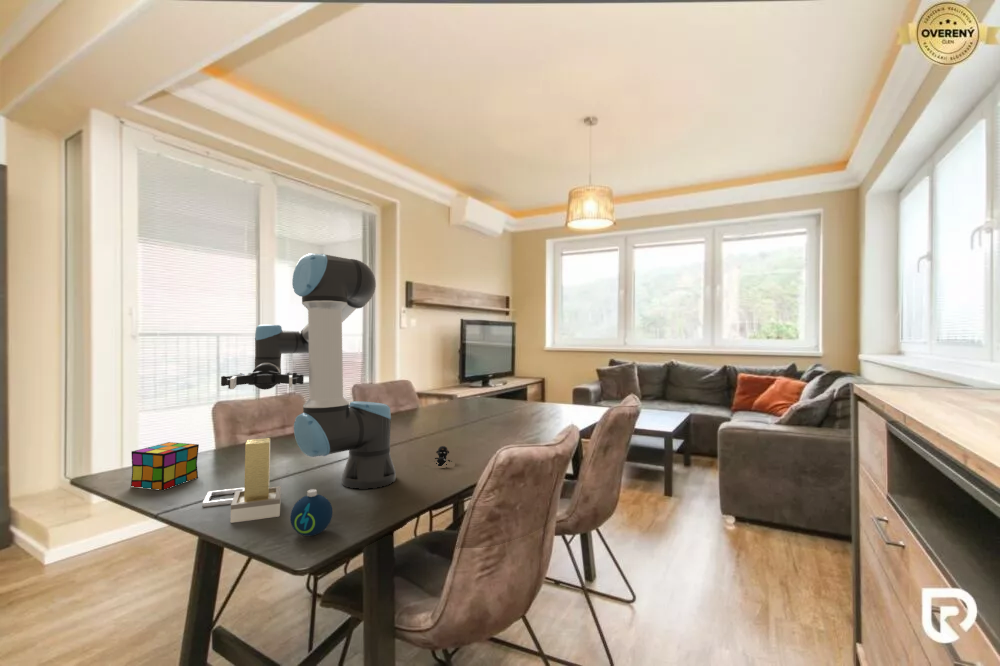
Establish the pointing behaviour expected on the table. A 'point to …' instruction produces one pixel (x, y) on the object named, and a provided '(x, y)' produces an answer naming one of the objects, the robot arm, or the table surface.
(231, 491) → the jamb socket
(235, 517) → the white square tray
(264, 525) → the table surface
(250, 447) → the block
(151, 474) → the toy
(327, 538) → the table surface
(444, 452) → the toy figurine
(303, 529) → the christmas ornament
